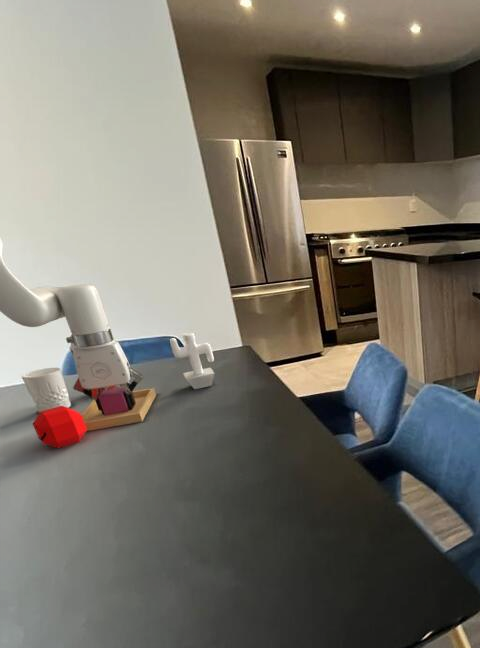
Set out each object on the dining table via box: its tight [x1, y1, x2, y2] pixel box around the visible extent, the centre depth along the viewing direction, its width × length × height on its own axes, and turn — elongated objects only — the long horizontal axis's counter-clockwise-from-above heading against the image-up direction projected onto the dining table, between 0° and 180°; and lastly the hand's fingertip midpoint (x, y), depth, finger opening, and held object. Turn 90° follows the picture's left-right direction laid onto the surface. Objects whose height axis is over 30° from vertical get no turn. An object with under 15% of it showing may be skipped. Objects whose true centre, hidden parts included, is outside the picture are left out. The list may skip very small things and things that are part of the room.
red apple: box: [32, 406, 88, 449], centre depth 106 cm, size 8×8×8 cm
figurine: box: [169, 331, 215, 390], centre depth 136 cm, size 7×9×15 cm
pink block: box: [98, 387, 129, 416], centre depth 121 cm, size 5×5×5 cm
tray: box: [80, 387, 157, 432], centre depth 122 cm, size 14×20×2 cm
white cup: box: [21, 367, 72, 413], centre depth 126 cm, size 8×8×10 cm
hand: (118, 409), depth 122 cm, fingers closed on pink block, 5 cm apart
